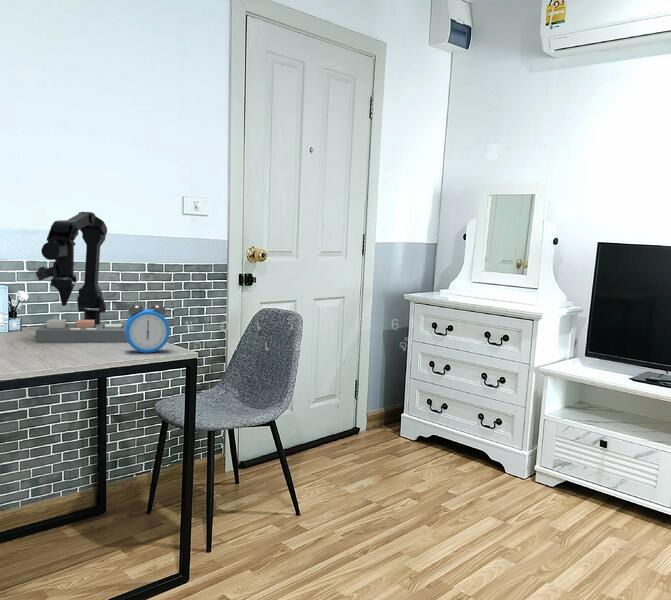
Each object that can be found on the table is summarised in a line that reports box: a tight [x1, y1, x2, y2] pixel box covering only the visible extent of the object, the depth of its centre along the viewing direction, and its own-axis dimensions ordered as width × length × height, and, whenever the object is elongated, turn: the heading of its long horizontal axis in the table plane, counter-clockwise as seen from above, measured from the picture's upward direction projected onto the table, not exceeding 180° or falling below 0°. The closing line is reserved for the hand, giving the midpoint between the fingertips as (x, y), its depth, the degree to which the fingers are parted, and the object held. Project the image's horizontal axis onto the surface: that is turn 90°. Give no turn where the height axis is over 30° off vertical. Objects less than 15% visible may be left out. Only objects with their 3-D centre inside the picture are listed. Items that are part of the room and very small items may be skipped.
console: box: [35, 323, 128, 344], centre depth 209 cm, size 13×28×4 cm, turn 106°
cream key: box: [45, 319, 67, 328], centre depth 207 cm, size 5×5×4 cm
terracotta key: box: [75, 319, 95, 328], centre depth 210 cm, size 5×5×4 cm
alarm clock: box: [124, 303, 171, 354], centre depth 192 cm, size 13×6×15 cm, turn 112°
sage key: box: [104, 323, 123, 328], centre depth 213 cm, size 5×5×4 cm
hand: (64, 305), depth 207 cm, fingers closed
